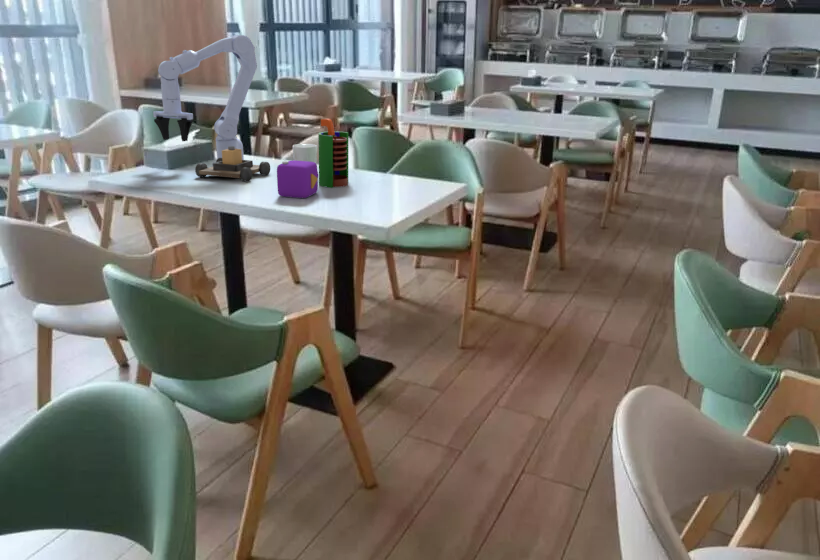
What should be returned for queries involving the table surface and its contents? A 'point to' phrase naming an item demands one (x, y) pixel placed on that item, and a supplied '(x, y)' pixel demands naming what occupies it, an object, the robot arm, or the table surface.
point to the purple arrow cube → (297, 179)
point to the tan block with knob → (232, 156)
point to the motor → (333, 156)
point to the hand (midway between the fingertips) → (175, 140)
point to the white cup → (305, 152)
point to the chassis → (233, 169)
